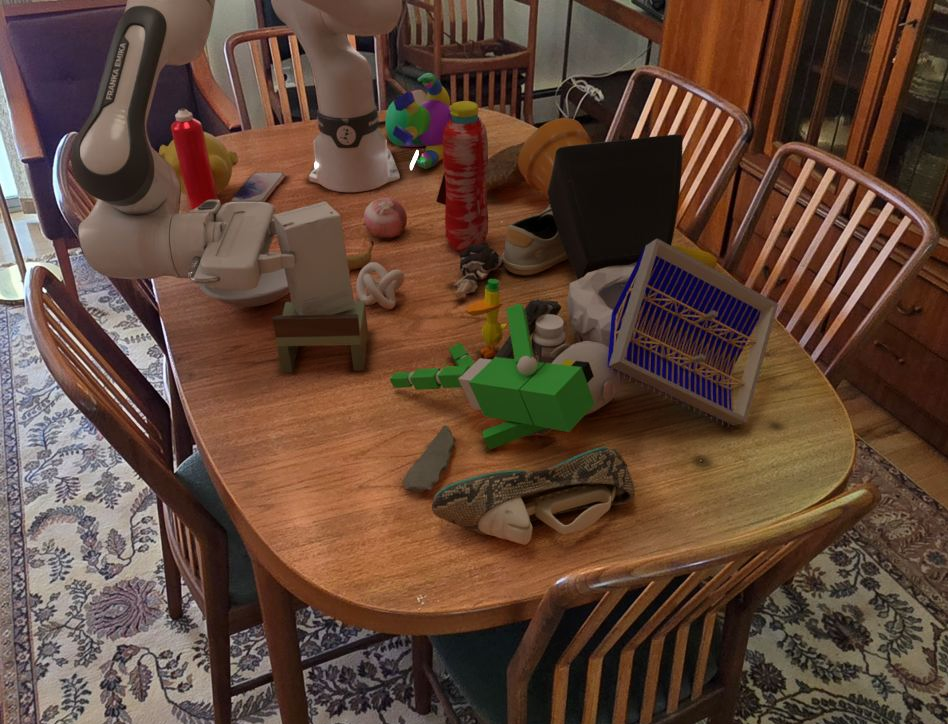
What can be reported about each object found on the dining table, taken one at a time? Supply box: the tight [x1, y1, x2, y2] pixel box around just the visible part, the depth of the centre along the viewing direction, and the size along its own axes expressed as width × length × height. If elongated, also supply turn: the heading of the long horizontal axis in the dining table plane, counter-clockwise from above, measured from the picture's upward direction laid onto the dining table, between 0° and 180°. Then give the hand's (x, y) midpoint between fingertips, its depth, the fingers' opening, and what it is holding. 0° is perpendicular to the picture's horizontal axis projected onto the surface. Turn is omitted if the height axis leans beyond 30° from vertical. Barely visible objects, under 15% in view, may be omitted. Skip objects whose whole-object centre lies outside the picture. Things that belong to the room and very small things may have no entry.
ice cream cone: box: [408, 89, 428, 105], centre depth 205 cm, size 5×5×15 cm
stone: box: [402, 425, 456, 494], centre depth 109 cm, size 13×2×5 cm
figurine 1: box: [385, 72, 452, 170], centre depth 181 cm, size 18×14×20 cm
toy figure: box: [465, 278, 508, 359], centre depth 125 cm, size 7×4×12 cm, turn 120°
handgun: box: [494, 298, 562, 359], centre depth 127 cm, size 19×2×12 cm
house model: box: [607, 239, 779, 427], centre depth 115 cm, size 19×20×7 cm
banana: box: [347, 239, 375, 271], centre depth 148 cm, size 10×2×4 cm, turn 128°
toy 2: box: [527, 341, 624, 437], centre depth 114 cm, size 10×15×10 cm, turn 131°
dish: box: [199, 251, 290, 308], centre depth 139 cm, size 18×14×5 cm
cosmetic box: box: [273, 200, 355, 315], centre depth 122 cm, size 8×6×15 cm
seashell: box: [486, 141, 527, 193], centre depth 173 cm, size 19×9×15 cm
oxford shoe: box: [501, 204, 569, 276], centre depth 152 cm, size 11×29×8 cm, turn 137°
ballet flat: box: [431, 446, 636, 546], centre depth 100 cm, size 8×25×9 cm
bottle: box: [170, 108, 219, 211], centre depth 158 cm, size 5×5×20 cm
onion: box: [363, 197, 408, 242], centre depth 157 cm, size 8×8×7 cm
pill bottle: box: [531, 314, 566, 364], centre depth 123 cm, size 5×5×8 cm
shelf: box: [271, 300, 369, 373], centre depth 127 cm, size 10×12×9 cm
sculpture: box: [158, 131, 239, 196], centre depth 168 cm, size 15×13×13 cm
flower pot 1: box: [518, 117, 592, 198], centre depth 162 cm, size 14×14×13 cm
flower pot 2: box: [547, 133, 683, 280], centre depth 135 cm, size 19×19×17 cm
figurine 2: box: [452, 242, 504, 300], centre depth 144 cm, size 7×6×15 cm
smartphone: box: [229, 171, 286, 203], centre depth 174 cm, size 7×1×15 cm
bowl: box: [566, 262, 637, 348], centre depth 127 cm, size 21×20×10 cm
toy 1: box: [389, 303, 595, 451], centre depth 113 cm, size 14×15×30 cm
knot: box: [355, 261, 405, 310], centre depth 139 cm, size 8×8×6 cm
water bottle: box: [435, 100, 489, 253], centre depth 148 cm, size 12×8×25 cm, turn 36°
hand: (299, 243), depth 120 cm, fingers open, 8 cm apart
